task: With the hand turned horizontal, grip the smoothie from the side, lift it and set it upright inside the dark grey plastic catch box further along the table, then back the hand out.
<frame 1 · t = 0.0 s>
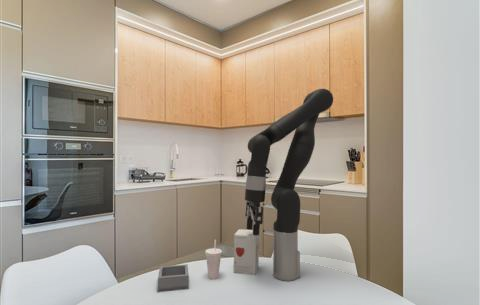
hand: (252, 232, 97), 17 cm above the table, tool pointing down, fingers open, 8 cm apart
smoothie: (213, 277, 98), on the table
catch box: (173, 283, 92), on the table
supplement box: (246, 270, 105), on the table
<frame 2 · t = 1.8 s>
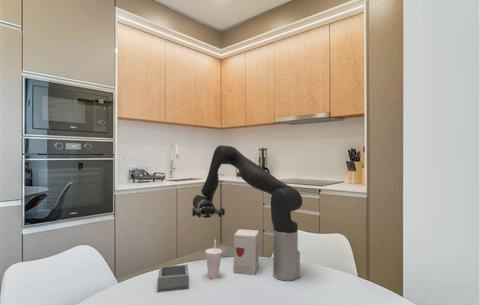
hand: (210, 214, 109), 21 cm above the table, tool horizontal, fingers open, 8 cm apart
nothing on the table moved.
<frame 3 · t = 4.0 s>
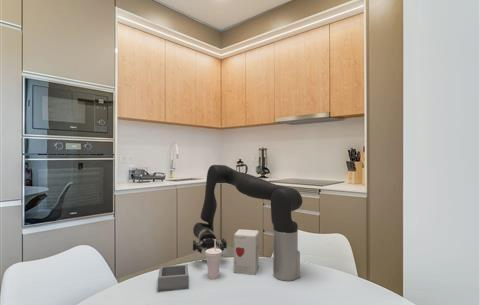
hand: (211, 249, 104), 8 cm above the table, tool horizontal, fingers open, 8 cm apart
nothing on the table moved.
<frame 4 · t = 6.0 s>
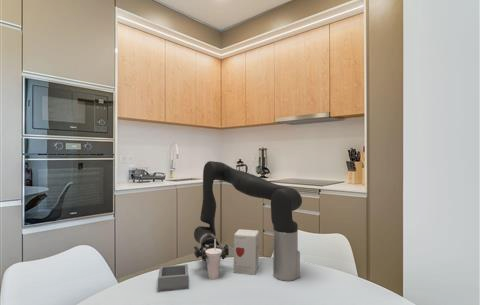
hand: (214, 257, 96), 8 cm above the table, tool horizontal, fingers closed on smoothie, 6 cm apart
smoothie: (213, 277, 98), on the table, touching gripper
everything else where it was.
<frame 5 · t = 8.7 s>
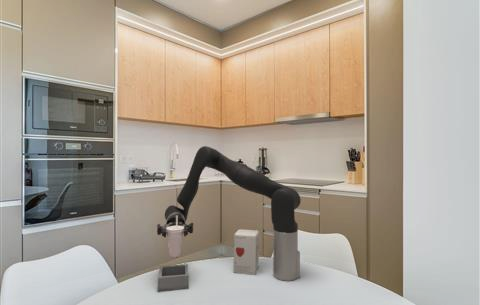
hand: (175, 234, 91), 18 cm above the table, tool horizontal, fingers closed on smoothie, 6 cm apart
smoothie: (174, 255, 93), point 10 cm above the table, touching gripper
everything else where it was.
when the fingers open (10 cm above the table, at t = 11.2 s): smoothie stays where it is, resting on catch box.
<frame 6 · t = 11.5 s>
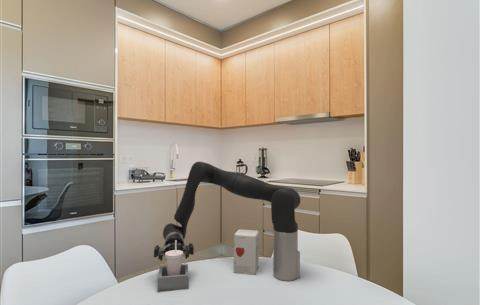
hand: (174, 256, 90), 10 cm above the table, tool horizontal, fingers open, 8 cm apart
smoothie: (173, 281, 92), point 1 cm above the table, touching catch box
everything else where it was.
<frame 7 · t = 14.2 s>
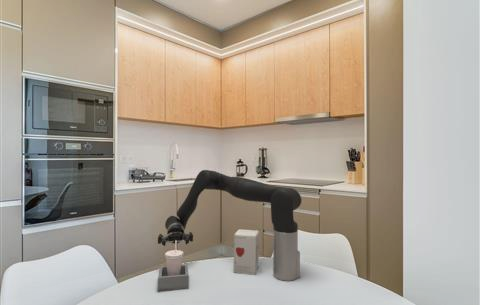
hand: (175, 242, 103), 11 cm above the table, tool horizontal, fingers open, 8 cm apart
nothing on the table moved.
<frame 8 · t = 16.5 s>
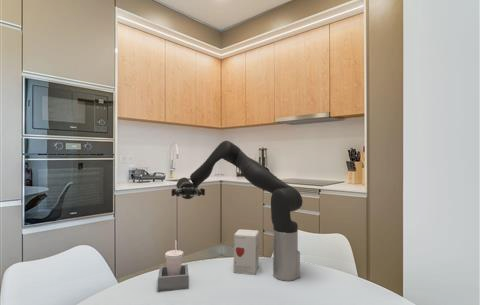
hand: (189, 193, 108), 30 cm above the table, tool horizontal, fingers open, 8 cm apart
nothing on the table moved.
at the end: smoothie 0.2 cm off-centre on the catch box, point 0.8 cm above the catch box's base; smoothie tilted 0°; the gripper is holding nothing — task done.
